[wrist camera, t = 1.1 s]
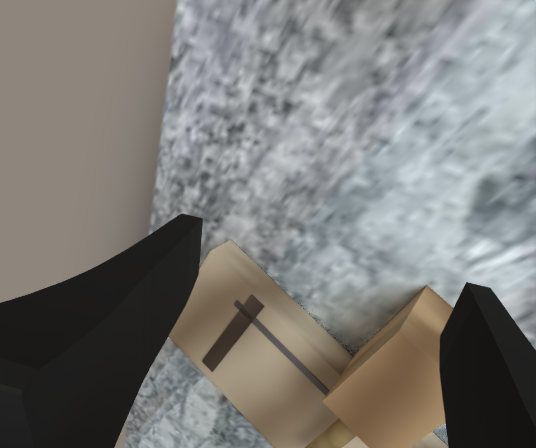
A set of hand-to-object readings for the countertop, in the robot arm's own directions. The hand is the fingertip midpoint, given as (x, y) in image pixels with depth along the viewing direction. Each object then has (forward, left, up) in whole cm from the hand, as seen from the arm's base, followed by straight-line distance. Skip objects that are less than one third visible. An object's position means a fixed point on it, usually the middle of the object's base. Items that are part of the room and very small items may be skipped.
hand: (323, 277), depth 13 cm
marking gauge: (-5, +10, -12) cm, 16 cm away
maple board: (-3, +15, -12) cm, 19 cm away
